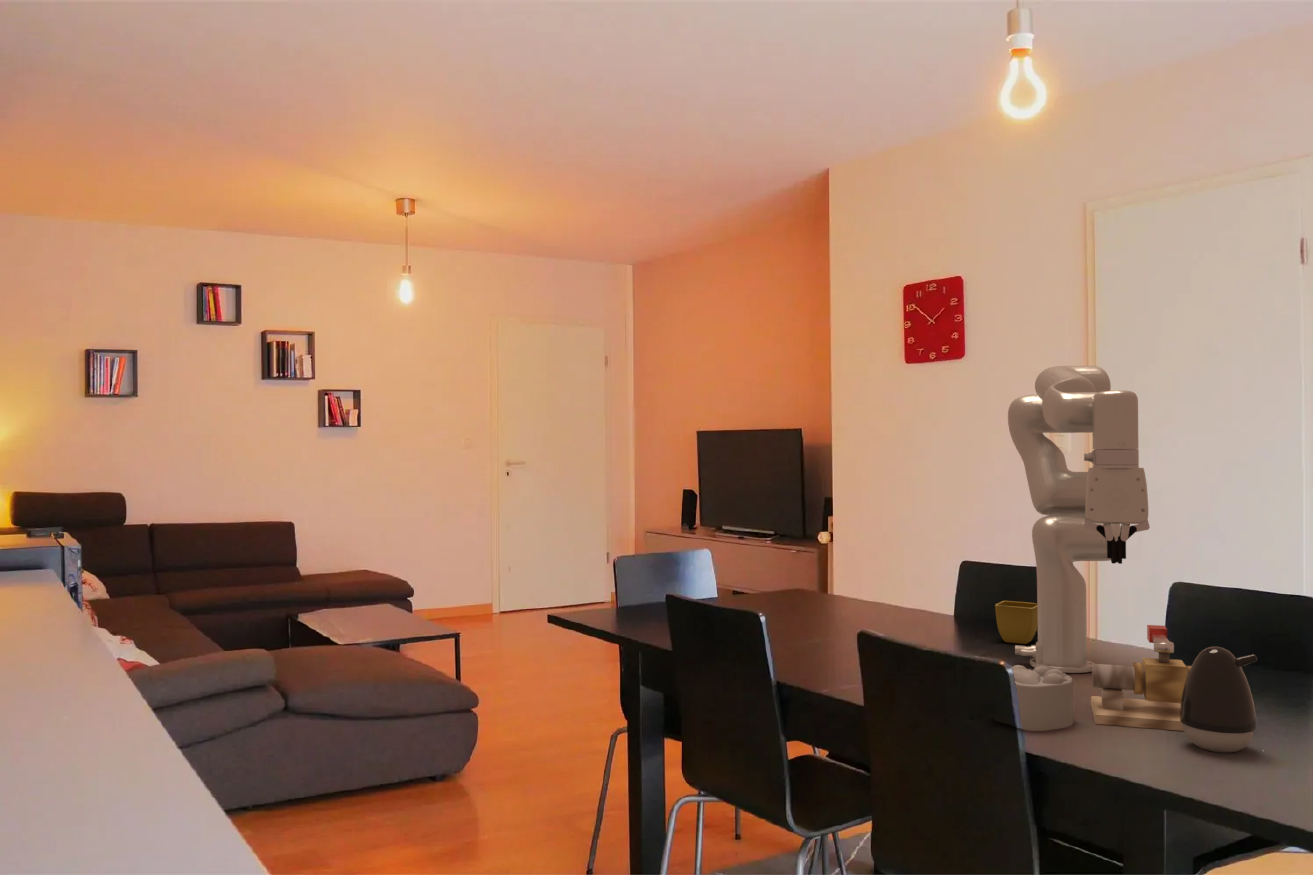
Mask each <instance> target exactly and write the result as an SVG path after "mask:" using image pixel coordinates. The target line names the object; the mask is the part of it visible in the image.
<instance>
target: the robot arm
mask: <svg viewBox="0 0 1313 875" xmlns="http://www.w3.org/2000/svg"><path fill="white" fill-rule="evenodd" d="M1111 387H1112V385H1111V380H1110V377H1109V375H1108V373H1107V371H1106V370H1104V369H1103V368H1102V367H1100V366H1097V365H1055V366H1051V367H1047V368H1045V369H1044V370H1042V371H1041V372H1039V374H1038V375H1037V377H1036V378H1035V382H1034V390H1035V393H1036V394H1028V395H1023V396H1019V397H1017V398H1015V399H1014V400H1012V402H1011V403H1010V404H1009V407H1008V410H1007V426H1008V429H1009V434H1010V437H1011V440H1012V443H1013V445H1014V447H1015V449H1016V451H1017V453H1018V454H1019V457H1021V460H1022V462H1023V465H1024V470H1025V474H1026V475H1025V476H1026V480H1027V485H1028V489H1029V493H1030V499H1031V501H1032V503H1031V504H1032V505H1033V507H1034V510H1035V511H1036V512H1037V513H1039V514H1040V515H1043V516H1042V517H1040V518H1039V519H1037V520H1036V521H1035V523H1034V524H1033V526H1032V529H1031V538H1032V540H1031V541H1032V544H1033V546H1032V547H1033V550H1034V557H1035V565H1036V566H1035V567H1036V589H1037V590H1036V592H1037V593H1036V594H1037V595H1036V596H1037V597H1036V600H1037V620H1038V628H1037V641H1036V642H1035V644H1031V645H1030V646H1026V645H1019V644H1018V645H1017V644H1015V645H1014V654H1015V655H1017V656H1019V655H1020V656H1023V657H1027V656H1028V657H1029V656H1030V657H1031V658H1030V660H1029V665H1030V666H1031V667H1033V669H1035V668H1036V667H1038V666H1045V667H1048V668H1050V669H1051V670H1052V669H1059V670H1061V671H1062V672H1063V674H1064V673H1065V674H1083V673H1092V664H1095V662H1093V661H1092V660H1088V648H1087V647H1088V643H1087V642H1088V641H1087V640H1088V639H1087V638H1088V637H1087V636H1088V633H1087V632H1088V631H1087V630H1088V629H1087V618H1088V617H1087V584H1086V580H1085V578H1084V576H1083V574H1082V573H1081V572H1080V571H1079V569H1077V567H1075V565H1074V562H1108V561H1110V562H1111V564H1120V565H1122V564H1123V560H1126V559H1127V541H1128V539H1130V537H1132V536H1133V535H1135V533H1139V532H1143V531H1148V530H1149V529H1150V523H1149V498H1148V485H1147V478H1146V472H1145V468H1144V467H1140V466H1139V464H1140V457H1139V455H1140V454H1139V453H1140V452H1139V450H1140V449H1139V398H1138V396H1137V394H1136V393H1135V392H1133V391H1131V390H1111ZM1047 433H1048V434H1053V433H1054V434H1055V433H1056V434H1072V433H1073V434H1076V433H1081V434H1083V433H1087V434H1088V433H1092V451H1091V452H1088V453H1084V454H1083V461H1084V462H1090V463H1091V464H1092V467H1088V470H1087V471H1072V470H1070V469H1068V466H1067V462H1066V457H1065V455H1064V453H1063V451H1062V450H1061V449H1060V447H1058V446H1057V444H1055V442H1053V440H1051V439H1050V438H1048V437H1047V436H1045V434H1047Z"/></svg>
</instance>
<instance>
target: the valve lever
mask: <svg viewBox="0 0 1313 875" xmlns="http://www.w3.org/2000/svg"><path fill="white" fill-rule="evenodd" d="M1146 629H1147V631H1146V633H1147V635H1146V639H1147V641H1148V643H1150V644H1153V651H1154V652H1156V653H1158V654H1159V653H1169V654H1173V653H1175V644H1174V642H1173V641H1170V640H1169V639H1168V629H1167V627H1166V626H1165V625H1158V624H1157V625H1156V624H1147V625H1146Z"/></svg>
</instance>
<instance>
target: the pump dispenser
mask: <svg viewBox="0 0 1313 875" xmlns="http://www.w3.org/2000/svg"><path fill="white" fill-rule="evenodd" d="M1257 661H1258V657H1257V656H1256V654H1254V653H1252V654H1249V655H1248V654H1247V655H1244V656H1240V657H1235V655H1234V654H1233V653H1232V652H1231V651H1230V650H1228V649H1226V648H1224V647H1220V646H1209V647H1205V649H1202V650H1201V651H1200V652H1199V653H1198V655H1197V656H1196V657H1195V659H1194V661H1193V663H1192V664H1191V665H1190V666H1191V668H1190V671H1189V673H1188V676H1187V678H1186V681H1185V685H1184V688H1183V693H1182V698H1181V706H1180V721H1181V722H1182V724H1183V728H1184V731H1183V732H1184V733H1185V735H1186V737H1187V738H1188V739H1189V740H1190V741H1191V742H1192V743H1193V744H1194V745H1196V746H1197V747H1199V748H1200V749H1203V750H1206V751H1210V752H1214V753H1215V752H1216V753H1228V754H1229V753H1235V752H1238V751H1241V750H1243V749H1245V748H1247V746H1248V745H1249V744H1250V742H1251V740H1252V738H1253V736H1254V733H1255V731H1256V730H1257V716H1256V709H1255V703H1254V698H1253V695H1252V692H1251V691H1252V690H1251V688H1250V685H1249V681H1248V679H1247V676H1246V675H1245V672H1244V670H1243V667H1245V666H1248V665H1250V664H1253V663H1255V662H1257Z"/></svg>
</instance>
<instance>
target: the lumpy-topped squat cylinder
mask: <svg viewBox="0 0 1313 875" xmlns="http://www.w3.org/2000/svg"><path fill="white" fill-rule="evenodd" d="M1011 668H1012V669H1013V673H1014V678H1015V683H1016V688H1017V694H1018V698H1019V709H1020V716H1021V722H1022V727H1023V731H1028V732H1029V731H1031V732H1045V731H1053V730H1058V729H1064V728H1069V727H1071V726H1072V725H1073V724H1074V680H1073V678H1072V676H1070V675H1068V674H1067V673H1063V672H1062V671H1061V670H1059V669H1052V670H1051V669H1050V668H1048V667H1045V666H1038V667H1036V668H1033V669H1031V668H1029V669H1027V668H1026V667H1025V666H1024V665H1020V664H1015V665H1013V666H1012V667H1011Z"/></svg>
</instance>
